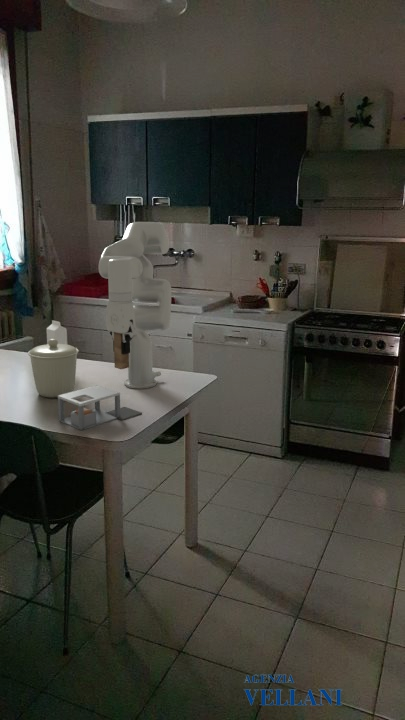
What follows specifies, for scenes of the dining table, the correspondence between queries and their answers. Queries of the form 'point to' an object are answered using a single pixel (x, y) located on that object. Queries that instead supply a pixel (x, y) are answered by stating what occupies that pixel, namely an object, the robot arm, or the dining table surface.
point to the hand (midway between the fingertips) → (121, 352)
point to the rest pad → (125, 413)
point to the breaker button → (86, 411)
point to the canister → (54, 368)
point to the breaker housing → (96, 414)
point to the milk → (57, 332)
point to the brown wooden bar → (120, 353)
